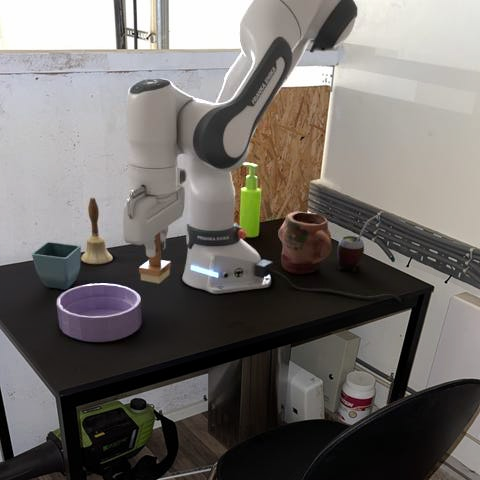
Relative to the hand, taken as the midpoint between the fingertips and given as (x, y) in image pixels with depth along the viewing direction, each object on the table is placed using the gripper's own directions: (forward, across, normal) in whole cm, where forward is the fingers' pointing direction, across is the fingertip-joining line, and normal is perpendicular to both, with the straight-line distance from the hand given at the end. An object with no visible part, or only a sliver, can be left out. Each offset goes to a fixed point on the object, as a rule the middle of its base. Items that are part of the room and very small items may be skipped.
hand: (156, 252), depth 125 cm
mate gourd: (+19, +57, -30) cm, 68 cm away
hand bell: (+19, +35, +34) cm, 52 cm away
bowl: (+19, 0, +14) cm, 23 cm away
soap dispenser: (+19, +72, +4) cm, 75 cm away
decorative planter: (+19, +51, -19) cm, 57 cm away
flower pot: (+19, +16, +33) cm, 41 cm away
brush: (+5, 0, 0) cm, 5 cm away
